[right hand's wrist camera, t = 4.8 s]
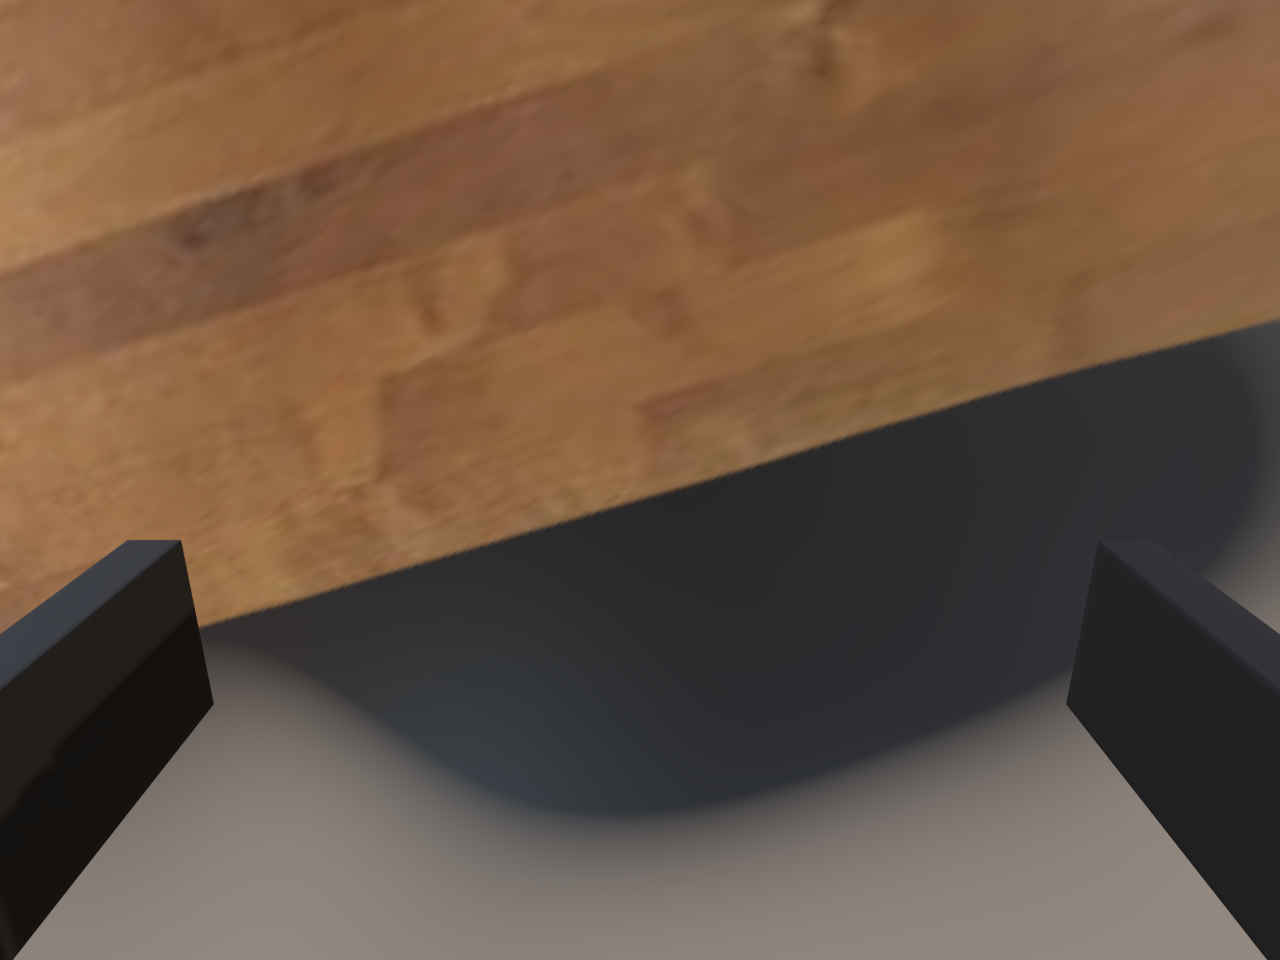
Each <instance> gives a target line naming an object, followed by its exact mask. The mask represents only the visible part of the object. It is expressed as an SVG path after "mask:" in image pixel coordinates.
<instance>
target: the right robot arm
mask: <svg viewBox="0 0 1280 960" xmlns="http://www.w3.org/2000/svg"><path fill="white" fill-rule="evenodd" d="M213 704H214V703H213V698H212V693H211V688H210V683H209V678H208V673H207V668H206V663H205V658H204V653H203V648H202V643H201V638H200V633H199V628H198V623H197V618H196V613H195V608H194V603H193V598H192V593H191V588H190V583H189V578H188V573H187V568H186V563H185V558H184V553H183V548H182V543H181V540H127V541H126V542H125V543H123V544H122V545H120V546H119V547H118V548H116V549H115V550H114V551H112V552H111V553H110V554H108V555H107V556H106V557H104V558H103V559H102V560H100V561H99V562H97V563H96V564H95V565H93V566H92V567H91V568H89V569H88V570H87V571H85V572H84V573H83V574H81V575H80V576H79V577H77V578H76V579H74V580H73V581H72V582H70V583H69V584H68V585H66V586H65V587H64V588H62V589H61V590H60V591H58V592H57V593H56V594H54V595H53V596H51V597H50V598H49V599H47V600H46V601H45V602H43V603H42V604H41V605H39V606H38V607H37V608H35V609H34V610H33V611H31V612H30V613H28V614H27V615H26V616H24V617H23V618H22V619H20V620H19V621H18V622H16V623H15V624H14V625H12V626H11V627H10V628H8V629H7V630H5V631H4V632H3V633H1V634H0V960H13V959H14V958H15V956H16V955H17V954H18V953H19V951H20V950H21V949H22V947H23V946H24V945H25V944H26V942H27V941H28V940H29V939H30V937H31V936H32V935H33V934H34V932H35V931H36V930H37V928H38V927H39V926H40V925H41V923H42V922H43V921H44V920H45V918H46V917H47V916H48V914H49V913H50V912H51V911H52V909H53V908H54V907H55V906H56V904H57V903H58V902H59V900H60V899H61V898H62V897H63V895H64V894H65V893H66V892H67V890H68V889H69V888H70V886H71V885H72V884H73V883H74V881H75V880H76V879H77V877H78V876H79V875H80V874H81V872H82V871H83V870H84V869H85V867H86V866H87V865H88V864H89V862H90V861H91V860H92V858H93V857H94V856H95V855H96V853H97V852H98V851H99V850H100V848H101V847H102V846H103V844H104V843H105V842H106V841H107V839H108V838H109V837H110V836H111V834H112V833H113V832H114V830H115V829H116V828H117V827H118V825H119V824H120V823H121V822H122V820H123V819H124V818H125V816H126V815H127V814H128V813H129V811H130V810H131V809H132V808H133V806H134V805H135V804H136V802H137V801H138V800H139V799H140V797H141V796H142V795H143V793H144V792H145V791H146V790H147V788H148V787H149V786H150V785H151V783H152V782H153V781H154V780H155V778H156V777H157V776H158V774H159V773H160V772H161V771H162V769H163V768H164V767H165V765H166V764H167V763H168V762H169V760H170V759H171V758H172V757H173V755H174V754H175V753H176V752H177V750H178V749H179V748H180V746H181V745H182V744H183V742H184V741H185V740H186V739H187V737H188V736H189V735H190V734H191V732H192V731H193V730H194V729H195V727H196V726H197V725H198V724H199V722H200V721H201V720H202V718H203V717H204V716H205V715H206V713H207V712H208V711H209V710H210V708H211V707H212V706H213ZM1066 704H1067V706H1068V707H1069V708H1070V710H1071V711H1072V712H1073V713H1074V715H1075V716H1076V717H1077V718H1078V720H1079V721H1080V722H1081V723H1082V725H1083V726H1084V727H1085V729H1086V730H1087V731H1088V732H1089V734H1090V735H1091V736H1092V737H1093V739H1094V740H1095V741H1096V743H1097V744H1098V745H1099V746H1100V748H1101V749H1102V750H1103V752H1104V753H1105V754H1106V755H1107V757H1108V758H1109V759H1110V760H1111V762H1112V763H1113V764H1114V766H1115V767H1116V768H1117V769H1118V771H1119V772H1120V773H1121V774H1122V776H1123V777H1124V778H1125V779H1126V781H1127V782H1128V783H1129V785H1130V786H1131V787H1132V788H1133V790H1134V791H1135V792H1136V793H1137V795H1138V796H1139V797H1140V799H1141V800H1142V801H1143V802H1144V804H1145V805H1146V806H1147V808H1148V809H1149V810H1150V811H1151V813H1152V814H1153V815H1154V816H1155V818H1156V819H1157V820H1158V821H1159V823H1160V824H1161V825H1162V827H1163V828H1164V829H1165V830H1166V832H1167V833H1168V834H1169V836H1170V837H1171V838H1172V839H1173V841H1174V842H1175V843H1176V844H1177V846H1178V847H1179V848H1180V850H1181V851H1182V852H1183V853H1184V855H1185V856H1186V857H1187V858H1188V860H1189V861H1190V862H1191V864H1192V865H1193V866H1194V867H1195V868H1196V870H1197V871H1198V872H1199V874H1200V875H1201V876H1202V878H1203V879H1204V880H1205V881H1206V883H1207V884H1208V885H1209V886H1210V888H1211V889H1212V890H1213V892H1214V893H1215V894H1216V895H1217V897H1218V898H1219V899H1220V900H1221V902H1222V903H1223V904H1224V906H1225V907H1226V908H1227V909H1228V911H1229V912H1230V913H1231V914H1232V916H1233V917H1234V918H1235V920H1236V921H1237V922H1238V923H1239V925H1240V926H1241V927H1242V928H1243V930H1244V931H1245V932H1246V934H1247V935H1248V936H1249V937H1250V939H1251V940H1252V941H1253V942H1254V944H1255V945H1256V946H1257V948H1258V949H1259V950H1260V951H1261V953H1262V954H1263V955H1264V956H1265V958H1266V959H1267V960H1280V634H1279V633H1277V632H1276V631H1275V630H1273V629H1272V628H1270V627H1269V626H1268V625H1266V624H1265V623H1264V622H1262V621H1261V620H1260V619H1258V618H1257V617H1256V616H1254V615H1253V614H1252V613H1250V612H1249V611H1247V610H1246V609H1245V608H1243V607H1242V606H1241V605H1239V604H1238V603H1237V602H1235V601H1234V600H1233V599H1231V598H1230V597H1228V596H1227V595H1226V594H1224V593H1223V592H1222V591H1220V590H1219V589H1218V588H1216V587H1215V586H1214V585H1212V584H1211V583H1210V582H1208V581H1207V580H1206V579H1204V578H1203V577H1201V576H1200V575H1199V574H1197V573H1196V572H1195V571H1193V570H1192V569H1191V568H1189V567H1188V566H1186V565H1185V564H1184V563H1183V562H1181V561H1180V560H1178V559H1177V558H1176V557H1174V556H1173V555H1172V554H1170V553H1169V552H1168V551H1166V550H1165V549H1164V548H1162V547H1161V546H1160V545H1158V544H1157V543H1155V542H1154V541H1153V540H1099V543H1098V548H1097V553H1096V558H1095V563H1094V568H1093V573H1092V578H1091V583H1090V588H1089V593H1088V598H1087V603H1086V608H1085V613H1084V618H1083V623H1082V628H1081V633H1080V638H1079V643H1078V648H1077V653H1076V658H1075V663H1074V668H1073V673H1072V678H1071V683H1070V688H1069V693H1068V698H1067V703H1066Z"/></svg>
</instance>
